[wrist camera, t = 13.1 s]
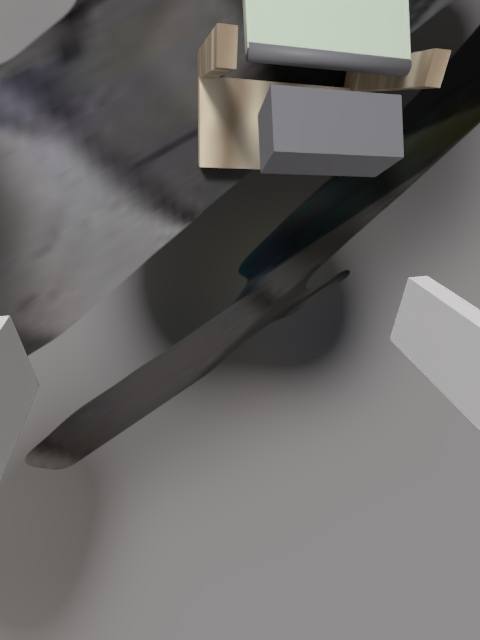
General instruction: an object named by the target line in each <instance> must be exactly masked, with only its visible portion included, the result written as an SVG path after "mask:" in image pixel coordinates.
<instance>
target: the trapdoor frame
mask: <svg viewBox="0 0 480 640" xmlns="http://www.w3.org/2000/svg"><path fill="white" fill-rule="evenodd" d="M237 42H238V25H230V24H222V23H217V24H216V25H215V27H214V28H213V30H212V31H211V33H210V34H209V35H208V37H207V38H206V40H205V41H204V43H203V44H202V45H201V47H200V48H199V50H198V165H199V167H205V168H234V169H260V152H259V131H258V113H259V111H260V109H261V106H262V104H263V101H264V99H265V97H266V94H267V92H268V90H269V87H270V85H271V84H275V85H287V86H299V87H311V88H322V89H334V90H346V91H358V92H370V91H389V90H405V89H406V90H407V89H426V88H440V86H441V83H442V80H443V76H444V73H445V70H446V67H447V63H448V60H449V57H450V53H451V50H445V49H436V48H435V49H430V50H425V51H420V52H415V53H411V61H412V66H411V70H410V72H409V74H408V75H407V76H406V77H401V76H391V75H380V74H370V73H360V72H349V71H346V77H345V82H344V88H341V87H329V86H318V85H306V84H294V83H283V82H271V81H259V80H248V79H236V78H225V77H220V76H222V75H224V74H227V73H229V72H231V71H233V70H236V66H237Z"/></svg>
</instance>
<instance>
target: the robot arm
mask: <svg viewBox="0 0 480 640" xmlns="http://www.w3.org/2000/svg"><path fill="white" fill-rule="evenodd" d="M390 340H391V341H392V342H393V343H394V344H395V345H396V346H397V347H398V348H399V349H400V350H401V351H402V352H403V353H404V354H405V355H406V356H407V357H408V358H409V359H410V360H411V361H412V362H413V363H414V364H415V365H416V366H417V367H418V368H419V369H420V370H421V371H422V372H423V373H424V374H425V375H426V376H427V377H428V379H429V380H430V381H431V382H432V383H433V384H434V385H435V386H436V387H437V388H438V389H439V390H440V391H441V392H442V393H443V394H444V395H445V396H446V397H447V398H448V399H449V400H450V401H451V402H452V403H453V404H454V405H455V406H456V407H457V408H458V409H459V410H460V411H461V412H462V413H463V414H464V415H465V416H466V417H467V418H468V419H469V420H470V421H471V422H472V423H473V424H474V425H475V426H476V427H477V428H478V429H479V430H480V310H479V309H478V308H476V307H475V306H473V305H472V304H470V303H468V302H467V301H465V300H464V299H462V298H461V297H459V296H458V295H456V294H455V293H453V292H451V291H450V290H448V289H447V288H445V287H444V286H442V285H440V284H439V283H437V282H436V281H434V280H433V279H431V278H430V277H428V276H420V277H409V278H408V281H407V284H406V287H405V291H404V294H403V297H402V301H401V304H400V308H399V311H398V314H397V317H396V320H395V324H394V327H393V330H392V334H391V337H390ZM38 387H39V383H38V380H37V378H36V376H35V374H34V371H33V369H32V366H31V364H30V362H29V359H28V357H27V354H26V352H25V350H24V347H23V345H22V342H21V340H20V338H19V335H18V333H17V330H16V328H15V326H14V323H13V321H12V319H11V316H10V315H7V316H0V481H1V479H2V476H3V474H4V471H5V469H6V466H7V464H8V461H9V459H10V456H11V454H12V451H13V449H14V447H15V444H16V442H17V439H18V436H19V434H20V432H21V429H22V426H23V424H24V422H25V419H26V417H27V414H28V412H29V409H30V406H31V404H32V401H33V399H34V397H35V394H36V392H37V389H38Z"/></svg>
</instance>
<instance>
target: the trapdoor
mask: <svg viewBox="0 0 480 640" xmlns="http://www.w3.org/2000/svg"><path fill="white" fill-rule="evenodd" d="M243 17H244V38H245V56H246V61H247V62H256V63H266V64H276V65H287V66H297V67H308V68H318V69H328V70H339V71H349V72H360V73H370V74H380V75H391V76H401V77H406V76H407V75H408V74H409V72H410V70H411V66H412V61H411V49H410V24H409V0H243ZM258 131H259V152H260V170H261V173H264V174H266V173H267V174H296V175H329V176H358V177H376V176H377V175H379V174H380V173H382V172H383V171H385V170H386V169H388V168H389V167H390V166H392V165H393V164H395V163H396V162H398V161H399V160H401V159H402V158H403V157H404V148H403V124H402V100H401V95H394V94H382V93H370V92H358V91H346V90H334V89H322V88H311V87H299V86H287V85H275V84H271V85H270V87H269V90H268V92H267V94H266V97H265V99H264V101H263V104H262V106H261V109H260V111H259V113H258Z"/></svg>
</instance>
